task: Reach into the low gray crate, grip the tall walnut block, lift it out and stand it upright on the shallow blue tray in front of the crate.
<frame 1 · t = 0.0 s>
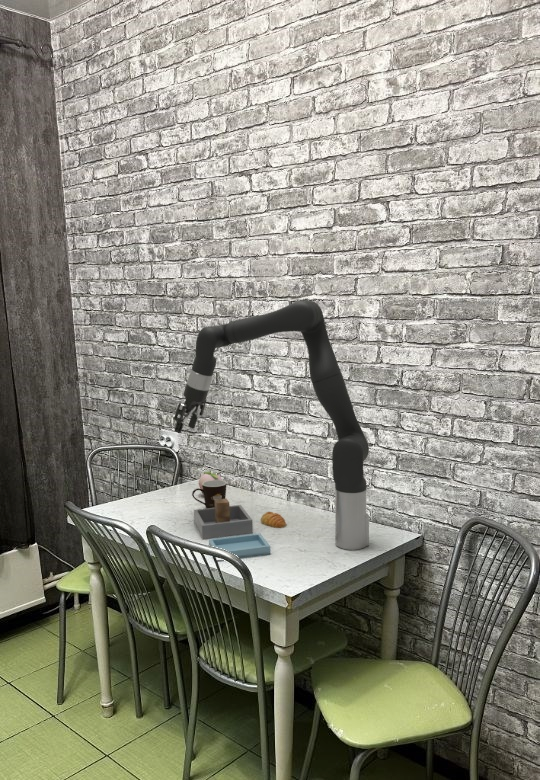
hand: (184, 429, 208), 31 cm above the table, tool tilted 20°, fingers open, 8 cm apart
shallow blue tray: (239, 550, 186), on the table
walnut block: (222, 527, 204), point 1 cm above the table, touching low gray crate
low gray crate: (222, 529, 204), on the table
pastry: (274, 526, 208), on the table
decorative fruit: (210, 496, 240), on the table
coffee mug: (211, 511, 223), on the table
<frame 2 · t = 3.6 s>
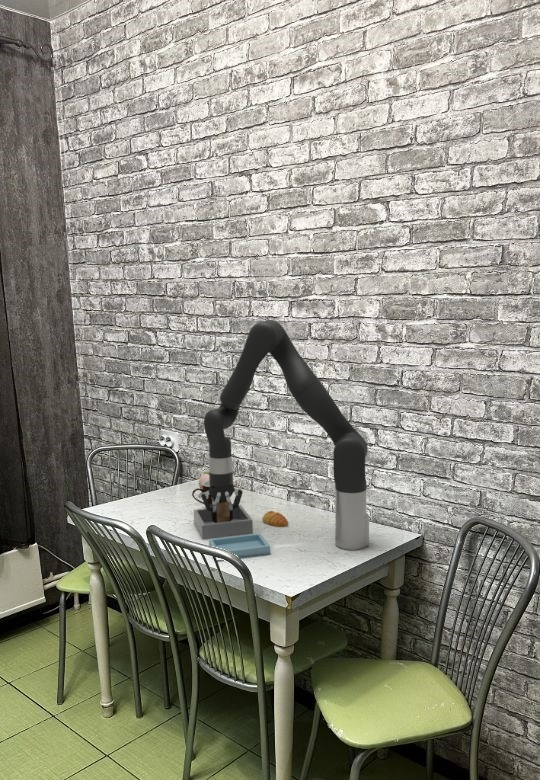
hand: (222, 521, 203), 3 cm above the table, tool pointing down, fingers closed on walnut block, 4 cm apart
walnut block: (222, 527, 204), point 1 cm above the table, touching low gray crate, gripper
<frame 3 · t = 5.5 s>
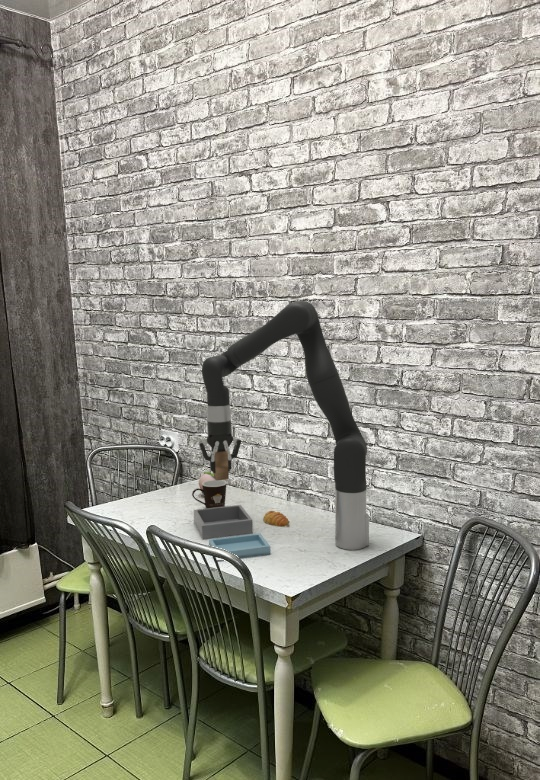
hand: (221, 471, 201), 19 cm above the table, tool pointing down, fingers closed on walnut block, 4 cm apart
walnut block: (221, 478, 202), point 17 cm above the table, touching gripper
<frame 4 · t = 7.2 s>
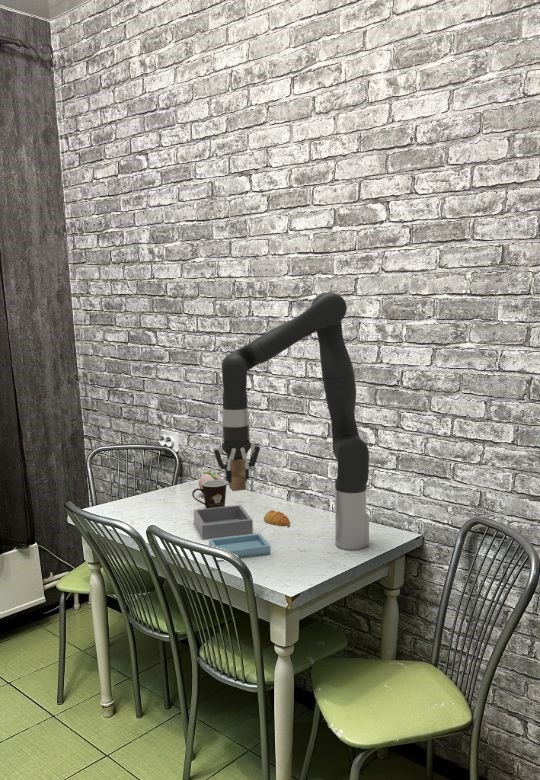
hand: (237, 481, 183), 21 cm above the table, tool pointing down, fingers closed on walnut block, 4 cm apart
walnut block: (237, 488, 184), point 19 cm above the table, touching gripper
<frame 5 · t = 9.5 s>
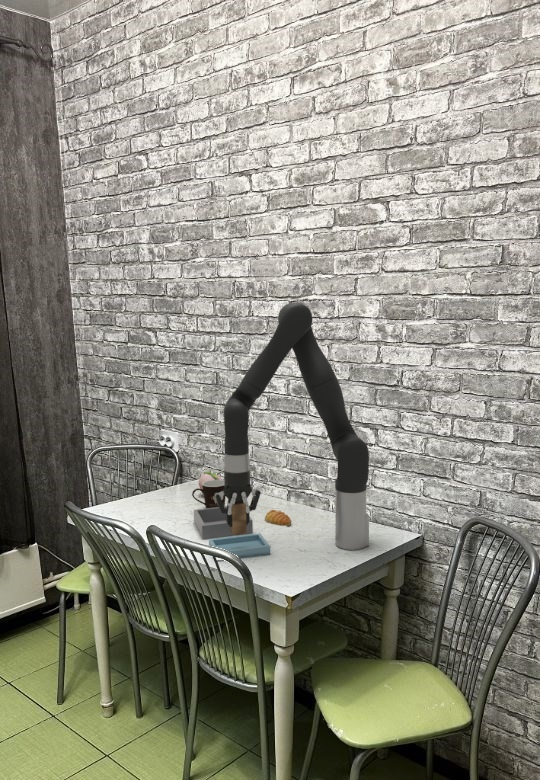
hand: (238, 524, 185), 8 cm above the table, tool pointing down, fingers closed on walnut block, 4 cm apart
walnut block: (238, 531, 185), point 6 cm above the table, touching gripper
when the fingers open (4 cm above the table, at t = 11.1 s): walnut block drops 1 cm, resting on shallow blue tray.
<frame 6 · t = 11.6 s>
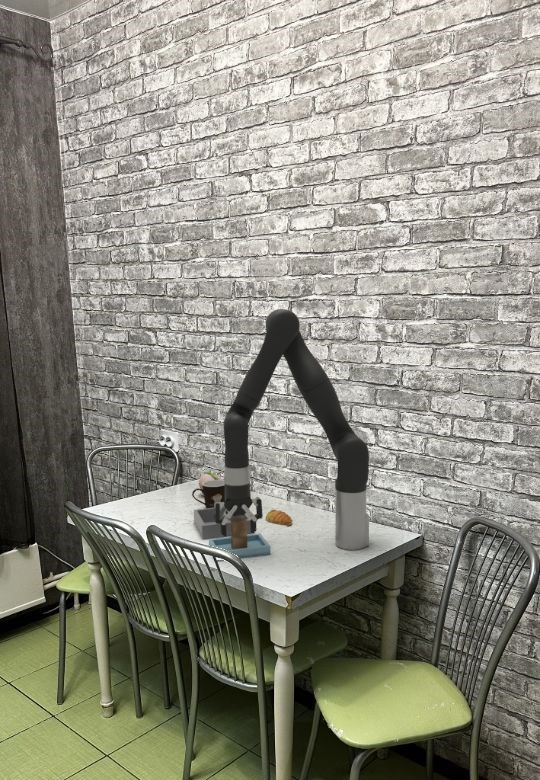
hand: (238, 534, 185), 5 cm above the table, tool pointing down, fingers open, 8 cm apart
walnut block: (239, 548, 186), point 1 cm above the table, touching shallow blue tray
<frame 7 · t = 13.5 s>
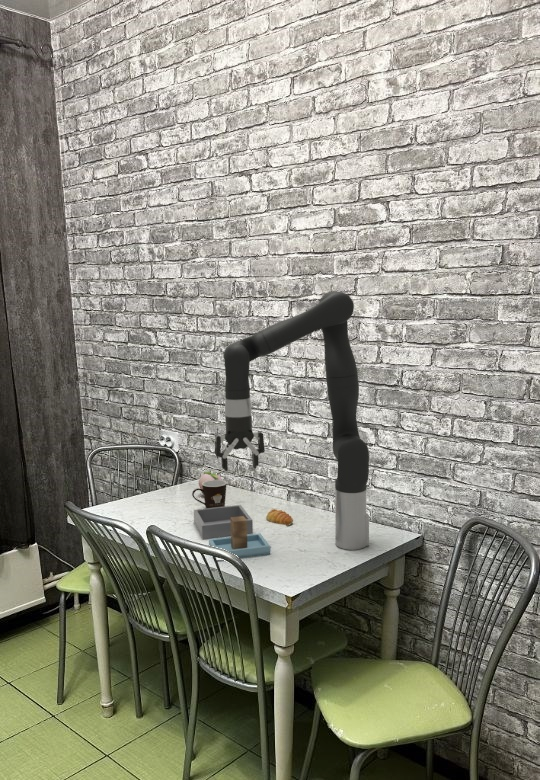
hand: (240, 468, 182), 25 cm above the table, tool pointing down, fingers open, 8 cm apart
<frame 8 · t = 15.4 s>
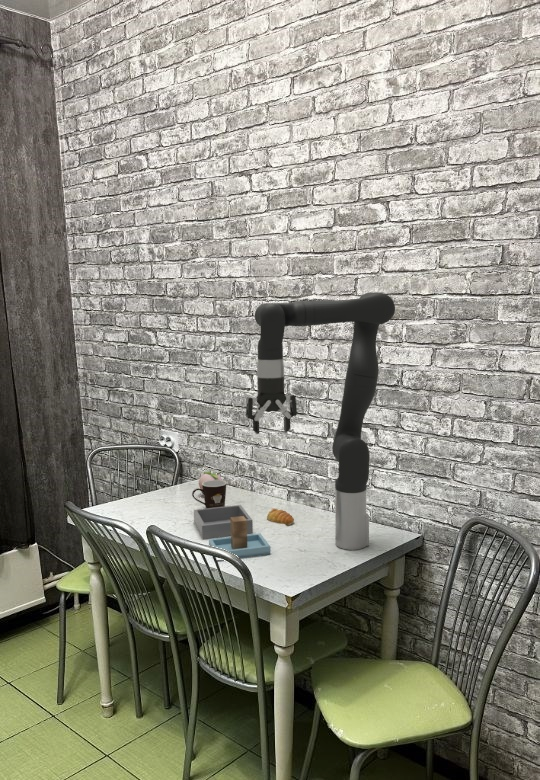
hand: (271, 432, 178), 36 cm above the table, tool pointing down, fingers open, 8 cm apart
at the end: walnut block inside the target area on the shallow blue tray (0.0 cm from its centre), point 0.8 cm above the shallow blue tray's base; walnut block tilted 0°; the gripper is holding nothing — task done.
